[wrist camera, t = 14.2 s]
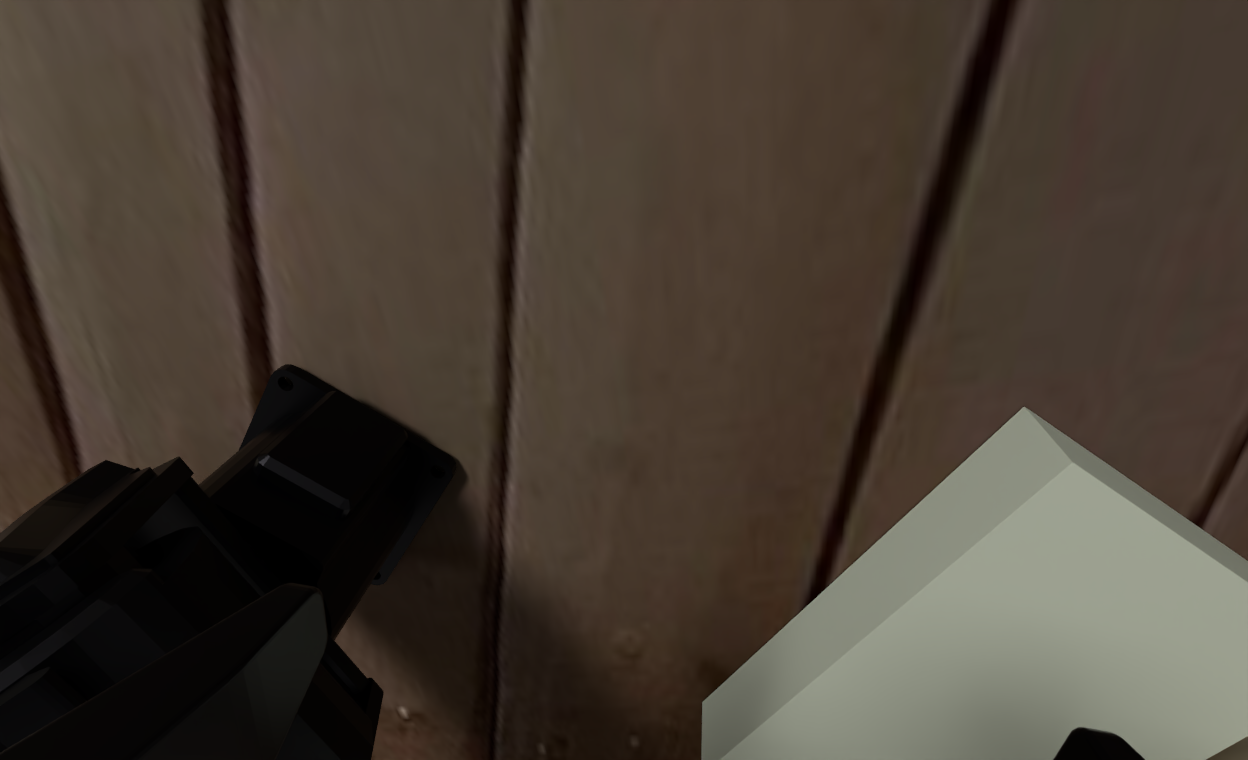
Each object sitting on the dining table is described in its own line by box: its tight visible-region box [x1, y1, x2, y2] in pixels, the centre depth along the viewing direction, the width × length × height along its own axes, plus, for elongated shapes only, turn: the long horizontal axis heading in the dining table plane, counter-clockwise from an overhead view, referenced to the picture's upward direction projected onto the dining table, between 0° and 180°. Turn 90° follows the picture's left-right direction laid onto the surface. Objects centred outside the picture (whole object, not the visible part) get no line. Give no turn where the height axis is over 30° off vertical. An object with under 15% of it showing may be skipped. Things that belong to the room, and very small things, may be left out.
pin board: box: [701, 407, 1248, 760], centre depth 23 cm, size 16×21×3 cm
